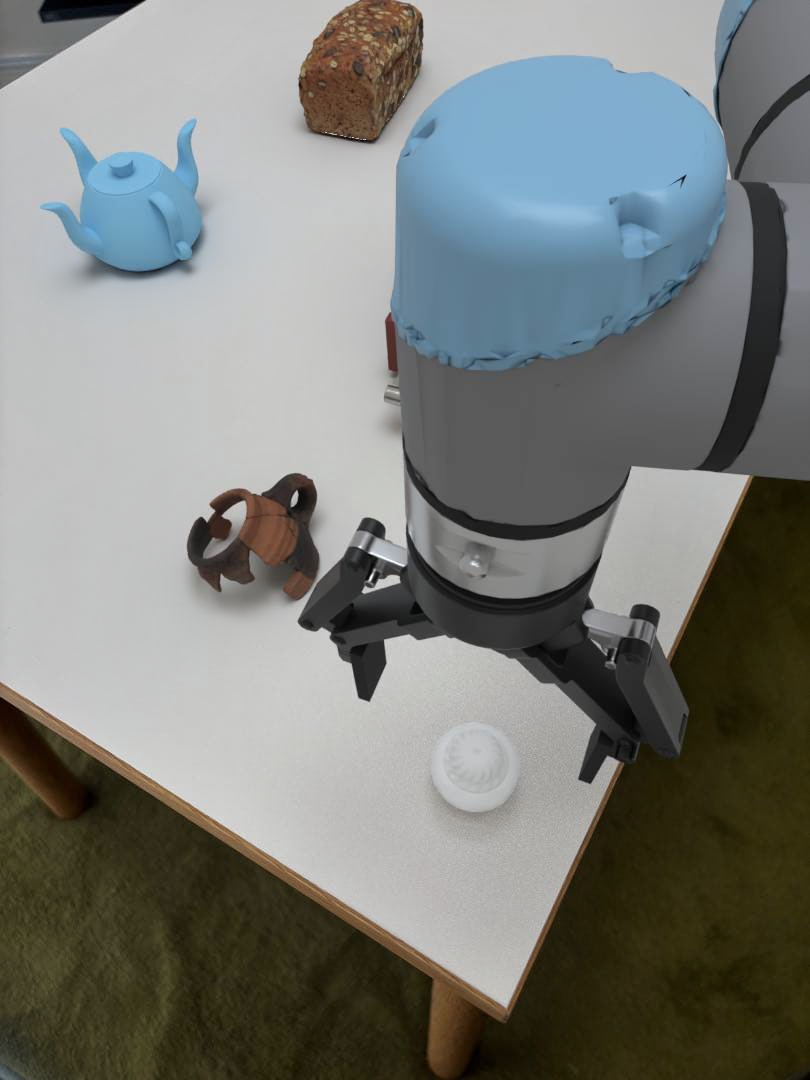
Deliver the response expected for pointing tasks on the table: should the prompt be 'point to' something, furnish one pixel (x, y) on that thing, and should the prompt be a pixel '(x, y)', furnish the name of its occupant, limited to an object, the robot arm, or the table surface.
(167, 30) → the table surface
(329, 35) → the bread
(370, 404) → the table surface
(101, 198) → the teapot
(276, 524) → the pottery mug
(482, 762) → the muffin
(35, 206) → the table surface
